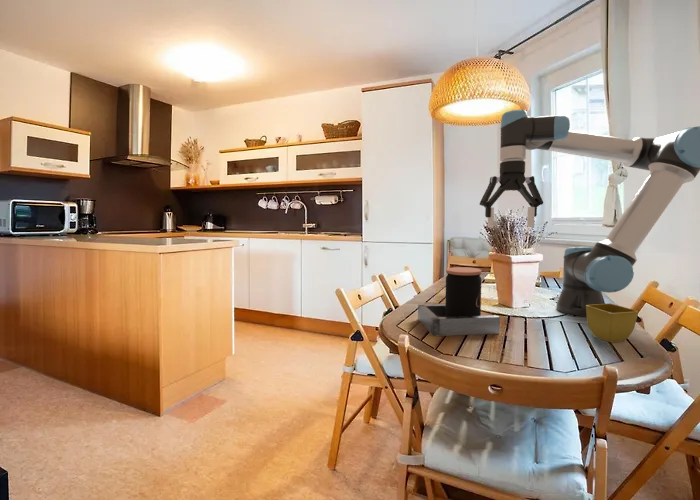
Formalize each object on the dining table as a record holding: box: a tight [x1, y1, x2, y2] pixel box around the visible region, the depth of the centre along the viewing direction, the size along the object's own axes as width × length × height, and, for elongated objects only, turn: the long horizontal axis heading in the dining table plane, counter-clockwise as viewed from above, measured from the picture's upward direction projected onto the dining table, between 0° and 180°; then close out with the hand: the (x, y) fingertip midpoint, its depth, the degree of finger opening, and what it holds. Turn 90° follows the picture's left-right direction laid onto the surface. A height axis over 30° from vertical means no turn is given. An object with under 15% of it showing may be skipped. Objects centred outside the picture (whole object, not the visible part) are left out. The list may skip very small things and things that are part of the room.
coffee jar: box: [445, 266, 482, 317], centre depth 115 cm, size 11×11×18 cm
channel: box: [417, 303, 501, 337], centre depth 115 cm, size 20×17×5 cm
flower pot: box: [586, 303, 639, 343], centre depth 102 cm, size 9×9×9 cm
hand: (510, 227), depth 120 cm, fingers open, 13 cm apart
